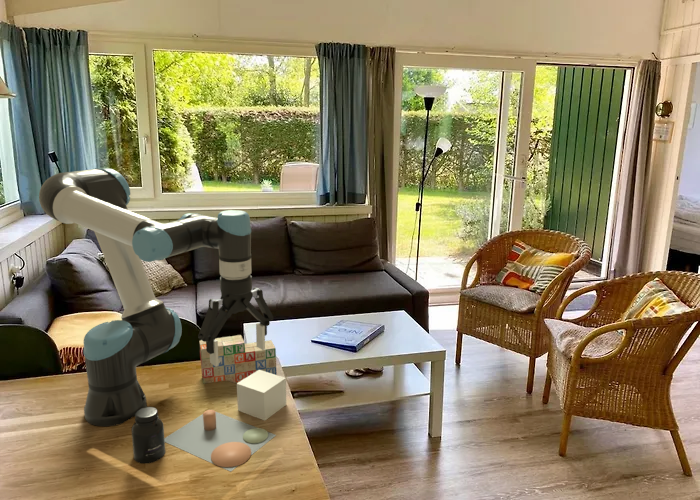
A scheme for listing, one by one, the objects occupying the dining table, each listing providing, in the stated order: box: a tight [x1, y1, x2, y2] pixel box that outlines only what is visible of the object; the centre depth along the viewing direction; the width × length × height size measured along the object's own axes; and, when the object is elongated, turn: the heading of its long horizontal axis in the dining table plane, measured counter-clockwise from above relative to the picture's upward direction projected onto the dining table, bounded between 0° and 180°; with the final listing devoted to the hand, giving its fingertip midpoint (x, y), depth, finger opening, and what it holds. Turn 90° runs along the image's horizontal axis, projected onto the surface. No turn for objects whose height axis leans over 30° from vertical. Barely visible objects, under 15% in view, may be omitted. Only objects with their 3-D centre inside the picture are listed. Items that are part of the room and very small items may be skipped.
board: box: [164, 409, 277, 473], centre depth 131 cm, size 22×16×5 cm
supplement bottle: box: [131, 406, 166, 465], centre depth 124 cm, size 7×7×12 cm
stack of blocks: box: [199, 334, 277, 384], centre depth 162 cm, size 21×6×12 cm, turn 109°
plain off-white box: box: [236, 370, 287, 421], centre depth 144 cm, size 9×9×9 cm
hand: (238, 355), depth 137 cm, fingers open, 13 cm apart
